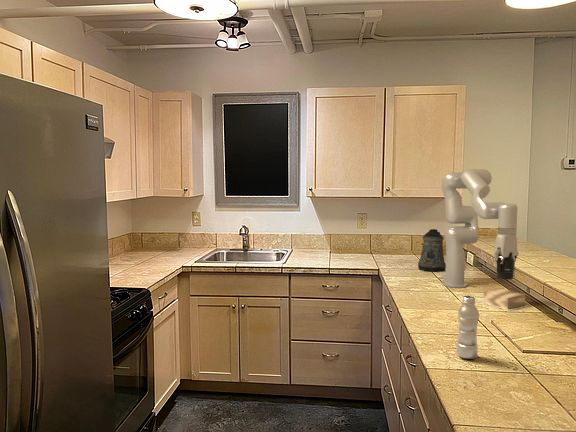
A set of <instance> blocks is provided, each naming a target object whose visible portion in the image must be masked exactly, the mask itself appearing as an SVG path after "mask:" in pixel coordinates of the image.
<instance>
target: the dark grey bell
mask: <svg viewBox="0 0 576 432" xmlns="http://www.w3.org/2000/svg"><path fill="white" fill-rule="evenodd" d="M422 240H423V241H422V242H423V244H422V248H421V253H420V257H419V261H418V262H417V267H418V270H420V271H422V272H426V273H443V272H446V260H445V256H444V247H443V244H444V242H443V241H444V240H445V237H443V235H442V234H441V232H440V231H438V229H437V228H436V229H434V228H431V229H429V231H428V232H426V233H425V234H423V236H422Z"/></svg>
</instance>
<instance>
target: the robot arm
mask: <svg viewBox="0 0 576 432" xmlns="http://www.w3.org/2000/svg"><path fill="white" fill-rule="evenodd" d="M492 179H493V177H492V174H491V172H490V171H489V170H488V169H484V168H478V169H477V168H470V169H466V170H463V172H455V171H453V172H449V173H446V174H445V175H443V177H442V179H441V189H442V190H441V191H442V193H443V198H444V206H445V217H446V221H447V223H448V224H455V226H449V227H448V228H446V229H445V231H444V240H445V264H446V267H445V271H444V272H445V273H444V274H442V275H441V276H440V280H441V279H442V280H443V281H442V282H441V285H442V286H444V287H448V288H455V289H457V288H458V289H461V288H467V287H468V283H467V282H465V269H466V268H465V267H466V265H465V264H466V263H465V262H466V253H465V252H466V251H465V250H464V248H463V245H472V244H476V243H477V242H478V241H479V238H480V236H479V235H480V233H479V218H480V219H482V220H497V235H496V237H495V240H494V248H493V249H494V253H493V258H494V260H495V263H496V273H497V272H500V273H504V264H503V262H504V259H505V258H507V257H508V256H509V253H511V252H512V258H513V259H514V271H515V265H516V262H517V258H518V255H519V252H518V239H517V234H518V233H517V229H518V227H517V226H518V222H517V221H518V206H517V204H515V203H506V202H485V201H484V200H483V199H484V198H486V197H487V196H488V195H489V194H490V192H491V187H490V184H491V182H492ZM458 189H459V190H460V189H462V190H465V189H467V190H468V191H469V193H470V194H471V195H472V196H471V200H470V202H471V205H463V200H462V196H461V194H460V192H459V191H458ZM460 224H461V225H460ZM462 224H464V225H462ZM456 225H457V226H456ZM501 256H502V257H501ZM500 258H501V260H500Z"/></svg>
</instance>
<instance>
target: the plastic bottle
mask: <svg viewBox="0 0 576 432" xmlns="http://www.w3.org/2000/svg"><path fill="white" fill-rule="evenodd" d="M457 317H458V328H459V329H458V332H459V333H458V338H457V339H458V341H457V344H456V353H457V355H458V356H459V357H460V358H462V359H465V360H474V359H476V358H477V357H478V351H479V348H478V341H477V340H478V338H477V333H478V332H477V331H478V324H479V319H480V312H479V310H478V308H477V306H476V297H475V296H471V295H463V296H462V305H461V306H460V307H459V309H458V311H457Z"/></svg>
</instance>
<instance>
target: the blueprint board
mask: <svg viewBox="0 0 576 432" xmlns="http://www.w3.org/2000/svg"><path fill="white" fill-rule="evenodd" d="M479 303H481V304H484V305H488V306H491V307H495V308H498V309H502V310H504V311H509V312H513V311H517V310H521V309H526V308H529V307H531V305H528V304H525V306H521V307H516V308H512V309H505V308H501V307H498V306H494V305H491V304H487V303H484V300H482V301H479Z"/></svg>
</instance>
